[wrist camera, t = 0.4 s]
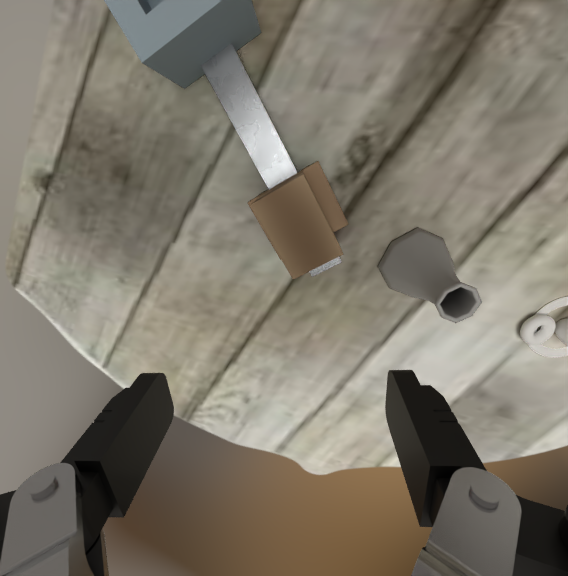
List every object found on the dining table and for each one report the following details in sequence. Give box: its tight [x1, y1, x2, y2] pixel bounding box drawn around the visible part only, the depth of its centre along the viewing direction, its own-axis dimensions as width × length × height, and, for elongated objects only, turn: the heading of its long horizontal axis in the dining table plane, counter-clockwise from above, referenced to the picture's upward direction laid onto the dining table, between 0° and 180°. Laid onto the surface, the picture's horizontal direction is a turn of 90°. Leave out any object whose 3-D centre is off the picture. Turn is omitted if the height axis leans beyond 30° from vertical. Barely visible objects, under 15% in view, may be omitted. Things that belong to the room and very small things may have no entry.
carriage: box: [248, 161, 348, 279], centre depth 26 cm, size 7×6×10 cm
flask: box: [378, 228, 482, 323], centre depth 28 cm, size 7×7×10 cm
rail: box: [201, 43, 342, 277], centre depth 27 cm, size 3×20×5 cm, turn 29°
